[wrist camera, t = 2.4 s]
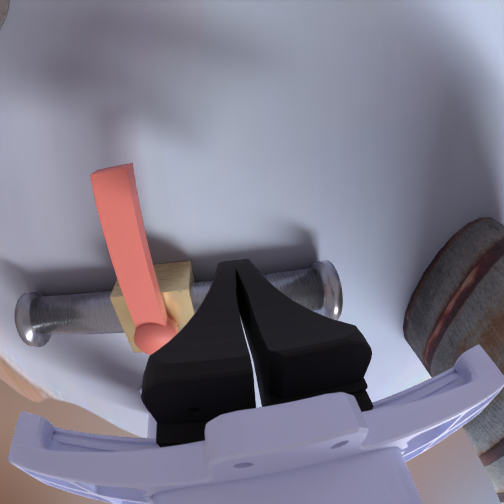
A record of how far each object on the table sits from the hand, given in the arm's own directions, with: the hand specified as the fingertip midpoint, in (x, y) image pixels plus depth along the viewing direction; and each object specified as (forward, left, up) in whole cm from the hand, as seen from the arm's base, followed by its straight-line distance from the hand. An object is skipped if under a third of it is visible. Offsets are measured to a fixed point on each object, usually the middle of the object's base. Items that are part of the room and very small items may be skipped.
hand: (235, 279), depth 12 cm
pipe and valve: (-7, +6, -9) cm, 13 cm away
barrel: (-14, -32, -10) cm, 36 cm away
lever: (-2, +6, -5) cm, 8 cm away
